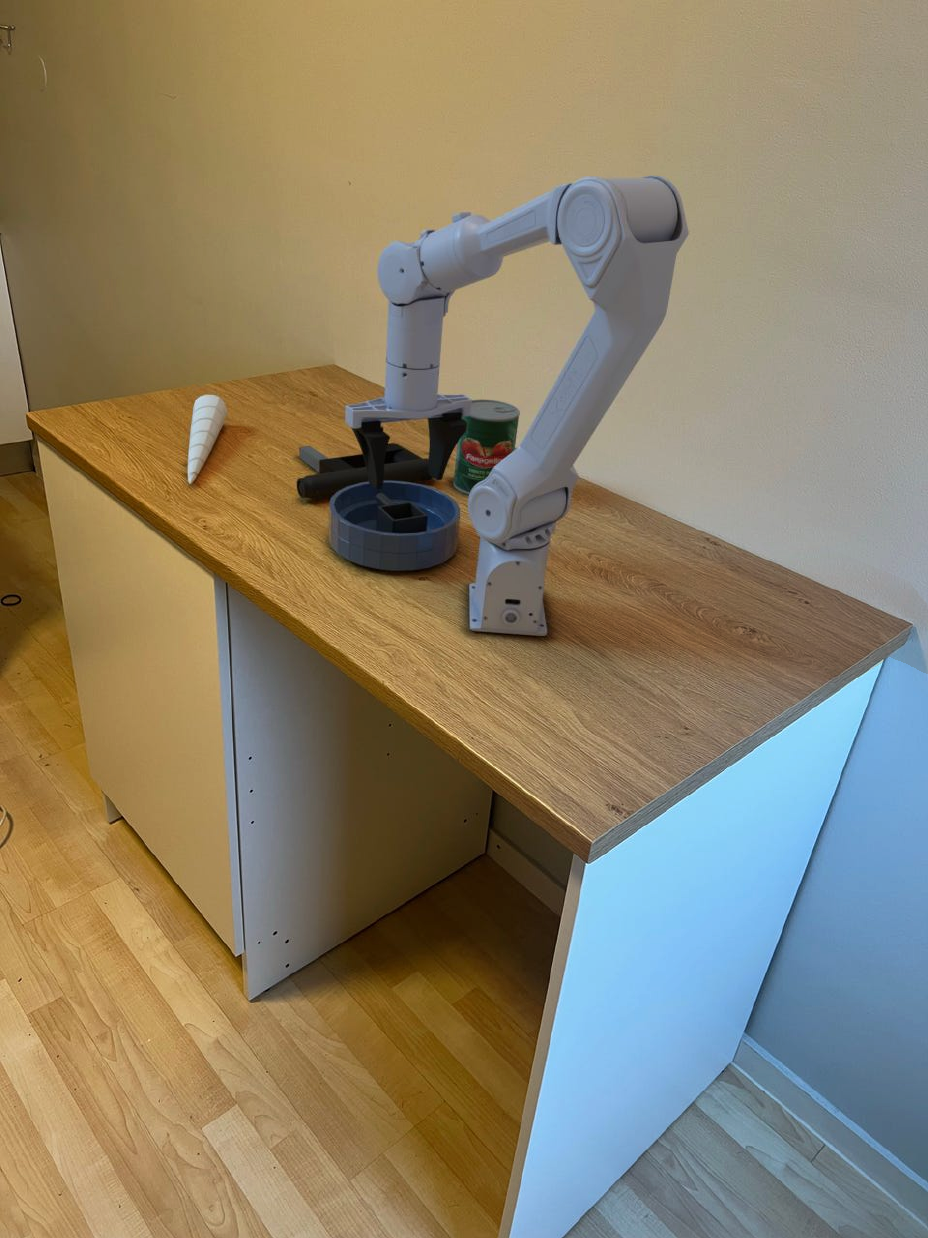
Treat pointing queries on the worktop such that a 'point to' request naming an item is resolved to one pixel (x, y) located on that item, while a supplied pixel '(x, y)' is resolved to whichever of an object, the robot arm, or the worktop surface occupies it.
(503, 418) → the canned tomato
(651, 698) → the worktop surface
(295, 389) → the worktop surface
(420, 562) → the bowl
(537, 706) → the worktop surface
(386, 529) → the scoop
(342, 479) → the door handle
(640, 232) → the robot arm
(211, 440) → the unicorn horn
